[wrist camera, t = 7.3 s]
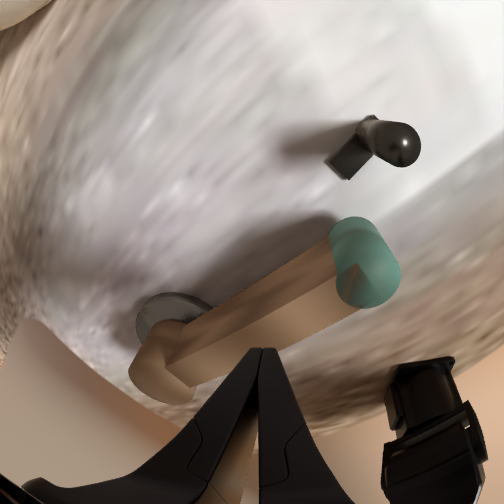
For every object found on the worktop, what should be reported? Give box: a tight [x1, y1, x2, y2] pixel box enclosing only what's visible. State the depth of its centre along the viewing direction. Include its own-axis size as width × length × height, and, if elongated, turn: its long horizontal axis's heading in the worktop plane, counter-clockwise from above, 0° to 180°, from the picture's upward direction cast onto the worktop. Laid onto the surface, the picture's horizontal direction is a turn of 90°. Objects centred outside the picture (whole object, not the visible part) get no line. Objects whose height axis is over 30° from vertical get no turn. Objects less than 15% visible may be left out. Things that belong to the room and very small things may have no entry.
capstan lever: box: [128, 217, 401, 405], centre depth 18 cm, size 20×5×4 cm, turn 129°
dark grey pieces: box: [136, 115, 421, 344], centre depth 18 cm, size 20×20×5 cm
